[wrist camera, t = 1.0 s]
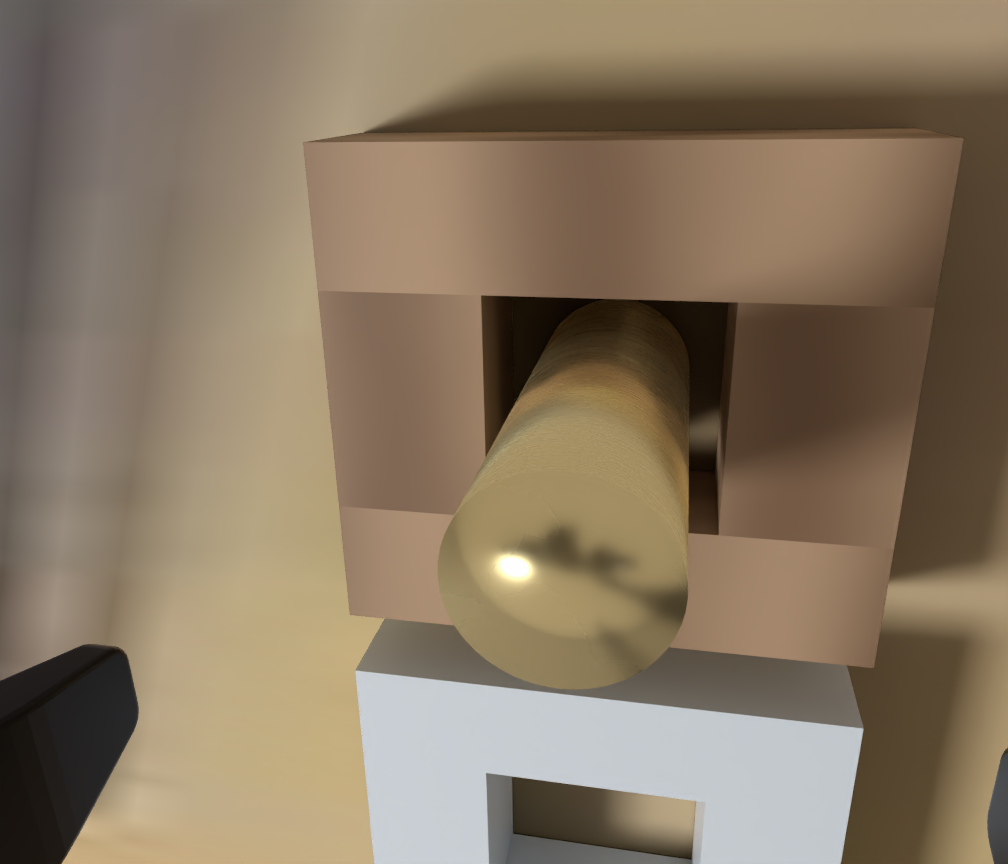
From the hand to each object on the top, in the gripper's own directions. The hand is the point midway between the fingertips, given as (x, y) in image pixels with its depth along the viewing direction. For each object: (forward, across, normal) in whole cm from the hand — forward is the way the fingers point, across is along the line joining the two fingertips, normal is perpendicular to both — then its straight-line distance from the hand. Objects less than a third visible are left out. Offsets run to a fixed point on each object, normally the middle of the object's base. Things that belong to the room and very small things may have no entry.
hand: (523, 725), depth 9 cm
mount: (+11, 0, 0) cm, 11 cm away
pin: (+12, 0, 0) cm, 12 cm away
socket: (+11, 0, +11) cm, 16 cm away
